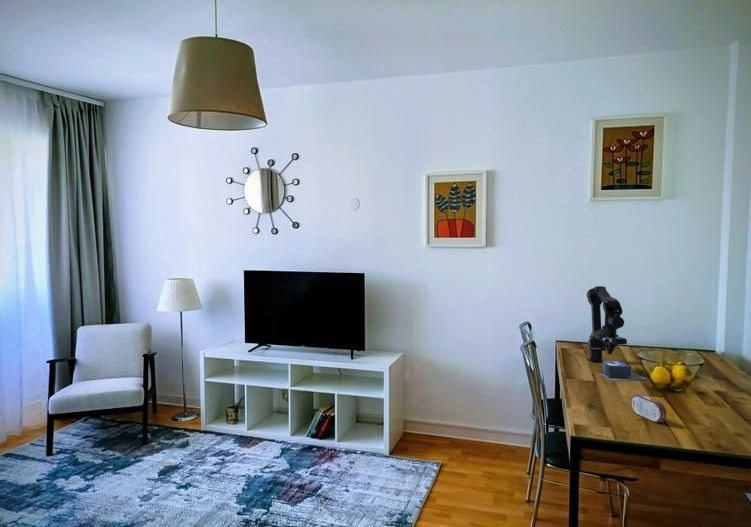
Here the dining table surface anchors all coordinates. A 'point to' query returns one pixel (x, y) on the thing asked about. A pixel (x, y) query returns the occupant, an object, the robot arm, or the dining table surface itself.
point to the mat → (633, 377)
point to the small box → (616, 369)
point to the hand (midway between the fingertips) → (609, 354)
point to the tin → (648, 408)
